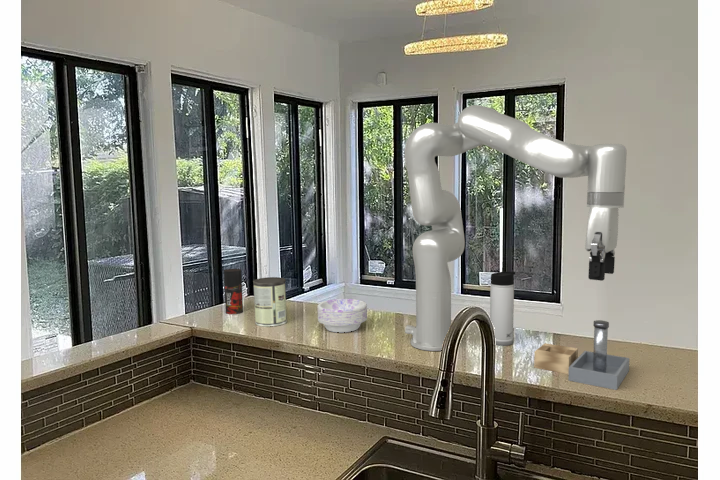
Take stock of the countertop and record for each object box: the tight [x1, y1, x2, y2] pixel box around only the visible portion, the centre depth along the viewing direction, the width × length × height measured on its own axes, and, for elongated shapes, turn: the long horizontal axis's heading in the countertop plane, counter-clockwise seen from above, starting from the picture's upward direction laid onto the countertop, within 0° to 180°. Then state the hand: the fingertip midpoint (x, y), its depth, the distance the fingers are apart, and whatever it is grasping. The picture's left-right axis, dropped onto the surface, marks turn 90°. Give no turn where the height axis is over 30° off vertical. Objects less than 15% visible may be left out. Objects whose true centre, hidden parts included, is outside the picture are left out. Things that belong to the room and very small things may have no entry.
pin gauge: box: [593, 319, 610, 373], centre depth 124 cm, size 3×3×12 cm
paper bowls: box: [316, 298, 368, 334], centre depth 167 cm, size 15×15×8 cm
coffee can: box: [252, 276, 288, 328], centre depth 175 cm, size 10×10×14 cm
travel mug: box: [489, 270, 516, 347], centre depth 150 cm, size 6×7×20 cm
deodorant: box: [223, 268, 244, 315], centre depth 190 cm, size 6×6×15 cm
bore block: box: [533, 342, 579, 375], centre depth 131 cm, size 8×8×4 cm
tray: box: [568, 350, 630, 391], centre depth 125 cm, size 10×14×3 cm
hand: (601, 276), depth 123 cm, fingers open, 9 cm apart
